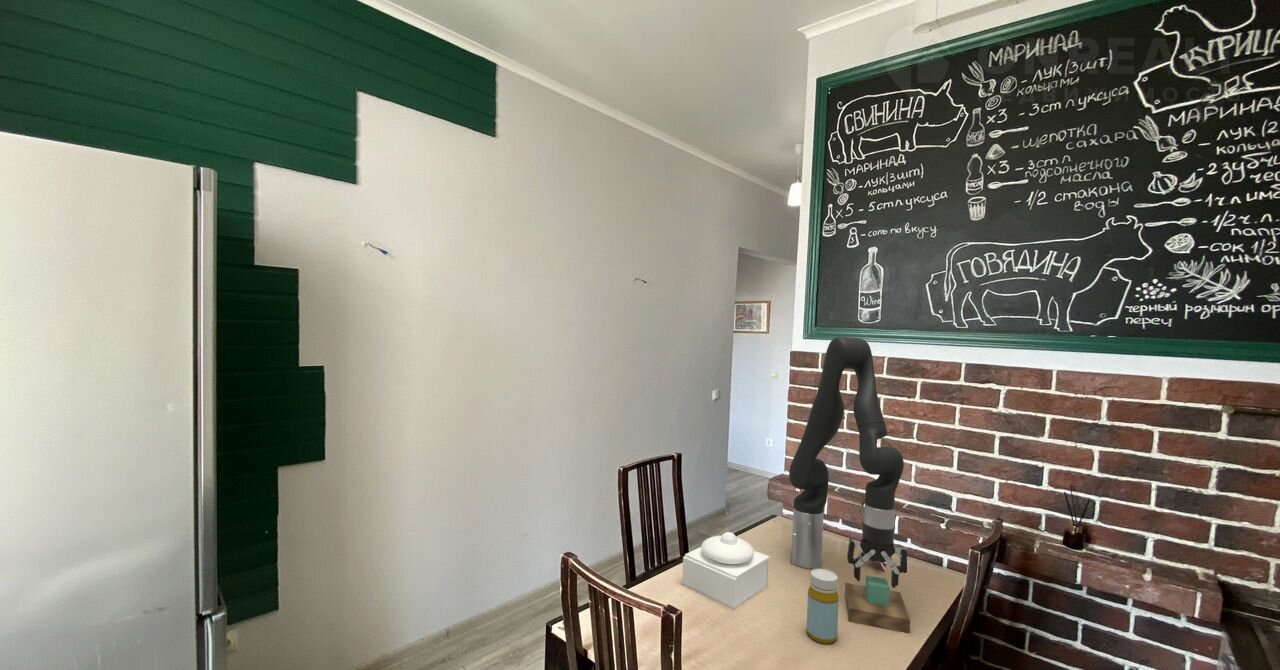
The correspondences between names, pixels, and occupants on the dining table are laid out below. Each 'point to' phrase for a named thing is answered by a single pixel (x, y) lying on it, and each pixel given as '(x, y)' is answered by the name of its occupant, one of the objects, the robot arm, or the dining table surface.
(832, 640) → the bottle
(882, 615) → the walnut base
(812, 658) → the dining table surface
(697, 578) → the butter dish
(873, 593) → the green cube
